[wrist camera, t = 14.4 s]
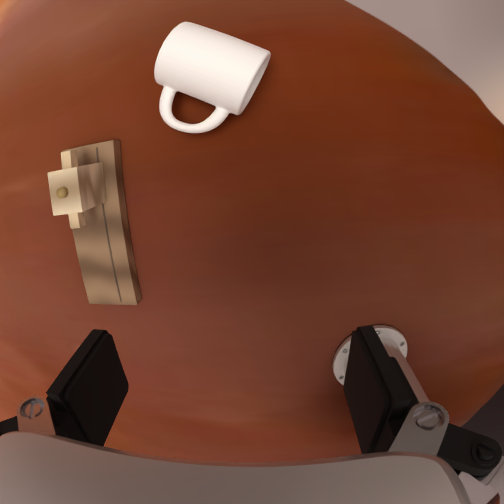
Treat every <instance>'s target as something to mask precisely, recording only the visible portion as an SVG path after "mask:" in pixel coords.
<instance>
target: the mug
mask: <svg viewBox="0 0 504 504" xmlns="http://www.w3.org/2000/svg"><path fill="white" fill-rule="evenodd" d="M270 56H271V53H270V52H269V51H267V50H265V49H263V48H260V47H258V46H255V45H253V44H250V43H248V42H245V41H243V40H240V39H238V38H235V37H232V36H230V35H227V34H224V33H221V32H218V31H215V30H212V29H209V28H206V27H203V26H200V25H197V24H194V23H190V22H183V23H181V24H179V25H178V26H176V27H175V28H174V29H173V30H172V31H171V32H170V34H169V35H168V36H167V38H166V39H165V41H164V43H163V45H162V47H161V49H160V51H159V53H158V56H157V59H156V63H155V70H154V75H155V80H156V82H157V83H158V84H160V85H163V86H164V88H163V91H162V94H161V97H160V104H159V108H160V114H161V116H162V118H163V120H164V121H165V122H166V123H167V124H168V125H169V126H170V127H172V128H174V129H176V130H179V131H182V132H187V133H203V132H207V131H210V130H212V129H214V128H216V127H217V126H219V125H220V124H221V123H222V122H223V121H224V120H225V119H226V117H227V116H228V114H229V113H233V114H235V115H240V114H241V113H242V112H243V110H244V109H245V107H246V106H247V104H248V102H249V101H250V99H251V97H252V95H253V93H254V92H255V90H256V88H257V86H258V84H259V82H260V80H261V78H262V76H263V74H264V72H265V69H266V67H267V65H268V62H269V60H270ZM178 91H179V92H182V93H184V94H187V95H189V96H192V97H195V98H197V99H200V100H202V101H204V102H207V103H209V104H212V105H214V106H216V109H215V110H214V112H213V113H212V114H211V115H210V116H209V117H208V118H207V119H206V120H205V121H203V122H201V123H198V124H187V123H184V122H181V121H179V120H177V119H176V118H175V117H174V116H173V114H172V103H173V99H174V96H175V93H176V92H178Z"/></svg>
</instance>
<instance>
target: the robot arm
mask: <svg viewBox="0 0 504 504" xmlns="http://www.w3.org/2000/svg"><path fill="white" fill-rule="evenodd" d="M406 356H407V343H406V340H405V338H404V336H403V335H402V334H401V333H400V331H398V330H397V329H395V328H393V327H391V326H386V325H375V326H363V327H358V328H357V330H356V331H353V332H352V335H351V336H350V337H348V338H347V339H346V340H345V341H344V342H343V343H342V344H341V345H340V346H339V348H338V349H337V351H336V353H335V355H334V358H333V371H334V375H335V377H336V379H337V380H338V381H339V383H341V384H342V385H344V392H345V396H346V399H347V402H348V406H349V409H350V413H351V416H352V420H353V423H354V427H355V430H356V434H357V437H358V441H359V445H360V448H361V452H362V454H360V455H351V456H343V457H335V458H325V459H314V460H302V461H286V462H215V461H199V460H187V459H177V458H168V457H160V456H153V455H146V454H140V453H134V452H128V451H122V450H117V449H112V448H108V447H103V446H104V443H105V441H106V439H107V436H108V434H109V432H110V429H111V427H112V425H113V423H114V420H115V418H116V416H117V414H118V411H119V409H120V407H121V405H122V403H123V400H124V398H125V396H126V394H127V392H128V381H127V379H126V376H125V373H124V370H123V367H122V365H121V362H120V359H119V356H118V353H117V350H116V347H115V344H114V340H113V337H112V335H111V334H109V333H108V332H107V331H106V330H97V329H94V330H92V331H91V332H90V334H89V335H88V336H87V338H86V339H85V340H84V342H83V343H82V344H81V345H80V347H79V348H78V349H77V351H76V352H75V353H74V355H73V356H72V357H71V359H70V360H69V361H68V363H67V364H66V366H65V367H64V368H63V370H62V371H61V372H60V374H59V375H58V377H57V378H56V379H55V381H54V382H53V384H52V385H51V386H50V388H49V389H48V391H47V392H46V393H47V395H48V397H47V398H46V399H45V398H44V397H42V396H37V395H34V396H30V397H27V398H25V399H24V400H23V401H22V402H21V403H20V404H19V406H18V408H17V416H15V417H13V418H10V419H7V420H4V421H2V422H0V504H504V457H503V456H502V450H501V447H500V445H499V444H498V443H497V442H496V441H495V440H494V439H492V438H489V437H486V436H484V435H481V434H478V433H475V432H472V431H469V430H466V429H463V428H461V427H458V426H455V425H453V424H450V423H449V416H448V413H447V411H446V410H445V409H444V408H443V407H442V406H441V405H439V404H437V403H434V402H430V401H429V399H428V398H427V396H426V394H425V392H424V390H423V389H422V387H421V385H420V383H419V381H418V380H417V378H416V376H415V374H414V373H413V371H412V369H411V367H410V366H409V364H408V362H407V361H406Z"/></svg>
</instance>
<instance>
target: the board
mask: <svg viewBox="0 0 504 504" xmlns="http://www.w3.org/2000/svg"><path fill="white" fill-rule="evenodd" d="M70 150H77V161H78V166H83V165H89V164H94V163H100V162H102V163H103V173H104V182H105V191H106V199H107V201H106V202H104V203H102V204H100V205H97V206H95V207H93V208H91V209H88V210H86V211H84V217H85V223H86V225H85V226H83V227H81V228H74V229H73V235H74V240H75V245H76V250H77V255H78V259H79V264H80V268H81V272H82V276H83V280H84V284H85V288H86V292H87V296H88V299H89V303H90V304H119V305H137V304H138V303H139V302H140V300H141V299H142V297H141V292H140V287H139V282H138V277H137V272H136V266H135V261H134V255H133V249H132V243H131V237H130V230H129V223H128V216H127V209H126V201H125V192H124V183H123V173H122V162H121V150H120V140H112V141H106V142H101V143H96V144H91V145H86V146H82V147H77V148H73V149H68V150H64V151H62V152H66V151H70Z"/></svg>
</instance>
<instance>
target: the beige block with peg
mask: <svg viewBox="0 0 504 504" xmlns="http://www.w3.org/2000/svg"><path fill="white" fill-rule="evenodd" d="M61 160H62V170H58V171H54V172H49V173H48V180H49V188H50V196H51V203H52V209H53V215H62V214H68V215H69V221H70V227H71V229H74V228H81V227H83V226H85V225H86V223H85V217H84V211H86V210H88V209H91V208H93V207H95V206H97V205H100V204H102V203H104V202H106V201H107V199H106V191H105V182H104V173H103V163H102V162H100V163H94V164H89V165H83V166H78V161H77V150H70V151H66V152H61Z"/></svg>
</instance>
